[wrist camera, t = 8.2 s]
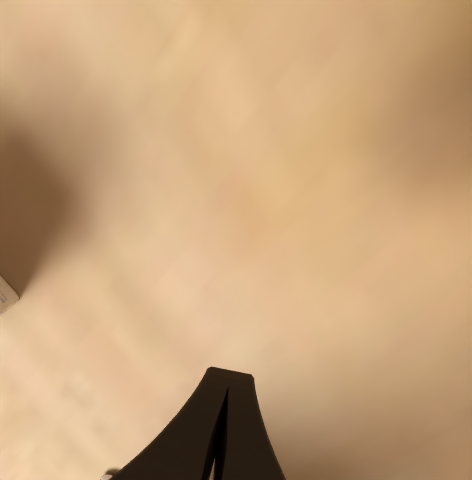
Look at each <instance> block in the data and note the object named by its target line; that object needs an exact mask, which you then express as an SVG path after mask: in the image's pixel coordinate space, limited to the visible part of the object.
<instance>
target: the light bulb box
mask: <svg viewBox="0 0 472 480" xmlns="http://www.w3.org/2000/svg"><path fill="white" fill-rule="evenodd" d="M18 300H19V297H18V295H17V294H16V292H15V291H14V290H13V289H12V288H11V287H10V286H9V285H8V284H7V282H6V281H5V280H4V279H3V278H2V277H1V276H0V315H1V314H2V313H4V312H5V311H6V310H7V309H9V308H10V307H11V306H13V305H14V304H15V303H16V302H17V301H18Z"/></svg>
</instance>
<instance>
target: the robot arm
mask: <svg viewBox="0 0 472 480" xmlns="http://www.w3.org/2000/svg"><path fill="white" fill-rule="evenodd" d="M214 459H215V464H214V475H213V480H286V479H285V477H284V474H283V472H282V470H281V468H280V466H279V463H278V461H277V458H276V456H275V453H274V451H273V448H272V446H271V443H270V440H269V438H268V435H267V432H266V429H265V425H264V422H263V419H262V416H261V412H260V409H259V405H258V400H257V396H256V391H255V384H254V378H253V376H252V375H251V374H246V373H241V372H236V371H231V370H226V369H221V368H216V367H210V368H208V369H207V370H206V373H205V375H204V377H203V378H202V380H201V382H200V383H199V385H198V387H197V388H196V390H195V391H194V393H193V394H192V395H191V397H190V398H189V399H188V401H187V402H186V403H185V405H184V406H183V407H182V409H181V410H180V411H179V412H178V414H177V415H176V416H175V417H174V418H173V419H172V420H171V422H170V423H169V424H168V425H167V426H166V427H165V428H164V430H163V431H162V432H161V433H160V434H159V435H158V436H157V437H156V438H155V439H154V440H153V441H152V442H151V443H150V444H149V445H148V446H147V447H146V448H145V449H144V450H143V451H142V452H141V453H140V454H138V455H137V456H136V457H135V458H134V459H133V460H132V461H130V462H129V463H128V464H127V465H126V466H125V467H123V468H122V469H121V470H120V471H119V472H117V473H116V474H115V475H114V476H113V475H103V476H102V477H101V479H100V480H209V477H210V473H211V470H212V466H213V463H214Z"/></svg>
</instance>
